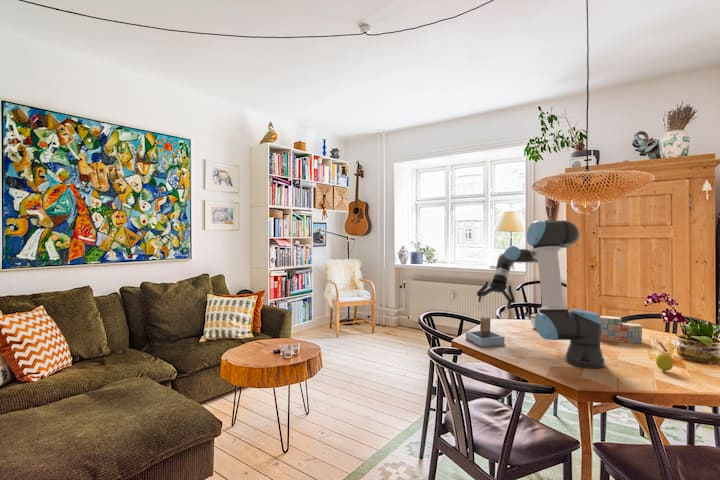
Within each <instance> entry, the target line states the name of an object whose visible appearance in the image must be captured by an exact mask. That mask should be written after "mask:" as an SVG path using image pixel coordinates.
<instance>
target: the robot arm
mask: <svg viewBox="0 0 720 480" xmlns="http://www.w3.org/2000/svg"><path fill="white" fill-rule="evenodd" d="M579 237H580V230H579V228H578V226H577V225H575V224H574V223H573V222H571V221H568V220H549V219H547V220H546V219H545V220H544V219H542V220H534V221H533V222H531V223H530V225H529V226H528V228H527V231H526V242H527V245H529V246H532V247H531V248H519V247H518V246H515V245H510V246H508V247H507V248H505V251H504V252H503V253H501V254H499V257H498V259H497V263H496V267H495V271H494V274H493V277H492V281H491V283H490V282H489V281H486V282H485V283H484V285H483V286H482V287H481V288H480V289H478V291H477V292H476V296H477V297H478V302H479V303H478V308H479V309H481V308H482V306H483V305H482V304H483V301H484V297H485V296H487V295H488V294H490V293H492V292H494V293H501V294H502V295H503V296H504V298H505V299H506V303H505V307H504V314H507V312H508V309H510V308H511V306H512V305H511V304H512V303H513V304H515V303H516V299H515V296H514V293H513V292H512V291H513V290H512V285H507V282H508V278H509V274H510V271H511V267H512V266H513V264H514V263H534V264H537V265H538V266H537V267H538V275H539V284H540V285H539V286H540V294H541V306H540V307H539V309H538V310H539V312H538V313H536V314H537V315H536V316H535V326H536V332H537V333H538V334H539V336H540V337H541V338H542V339H544V340H548V341H569V345H568V348H567V351H566V353H565V357H564V358H565V359H564V360H565V361H566V363H569V364H570V365H573V366H576V367H580V368H587V369H601V368H604V367H605V362H606V361H605V358H604V356H603V354H602V353H603V352H602V349H601V340H600V331H601V319H600V316H601V315H599V314H598V313H596V312H593V311H589V310H583V309H578V308H571V309H570V311H569V308H568V307H567V306H565V304H564V303H565V302H564V296H563V289H562V279H561V271H560V270H561V268H560V260H559V251H560V250H561V249H564V248H565V249H567V248H570V247H571V246H573V245H574V244H576V243H577V242H578V240H579ZM506 290H507V291H508V293H509V294H508V293H507V292H506Z"/></svg>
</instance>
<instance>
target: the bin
mask: <svg viewBox="0 0 720 480" xmlns="http://www.w3.org/2000/svg"><path fill="white" fill-rule="evenodd" d="M466 339H468V340H470V341H472V342H474V343H476V344H477V346H478V345H479V347H480V346H483V347H493V346H502V345H503V346H504V345H505V336H503V335H501V334H499V333H496V332H494V331H492V330H490V337H489V338H480V330H473V331H465V340H466ZM468 340H467V341H468ZM470 341H469V342H470ZM472 342H471V343H472ZM474 343H473V344H474ZM476 344H475V345H476Z"/></svg>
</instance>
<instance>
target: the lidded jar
mask: <svg viewBox="0 0 720 480" xmlns="http://www.w3.org/2000/svg"><path fill="white" fill-rule="evenodd" d="M537 314H538V313H531V314H530V315H529V316H530V322H531V326H532V327H534V329H536V326H535V316H536V315H537ZM536 330H537V329H536Z"/></svg>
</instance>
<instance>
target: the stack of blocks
mask: <svg viewBox="0 0 720 480" xmlns="http://www.w3.org/2000/svg"><path fill="white" fill-rule="evenodd" d="M599 316H600V319H601V331H600V341H606V340H612V341H611V342H617V341H624V342H623V343H628V342H634V343H633V344H639V343H642V342H643V341H642V340H643V339H642V338H643V326H642V325H640V324H639V323H632V322H631V323H630V322H622V318H621V317H619V316H611V315H610V316H609V315H599ZM642 344H643V343H642Z"/></svg>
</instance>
